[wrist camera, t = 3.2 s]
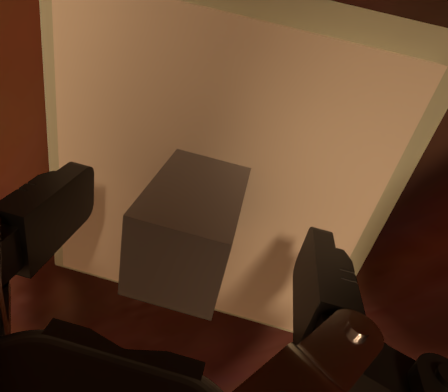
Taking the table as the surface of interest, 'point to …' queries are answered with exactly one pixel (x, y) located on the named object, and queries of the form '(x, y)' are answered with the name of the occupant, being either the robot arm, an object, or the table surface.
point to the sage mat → (329, 26)
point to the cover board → (222, 147)
